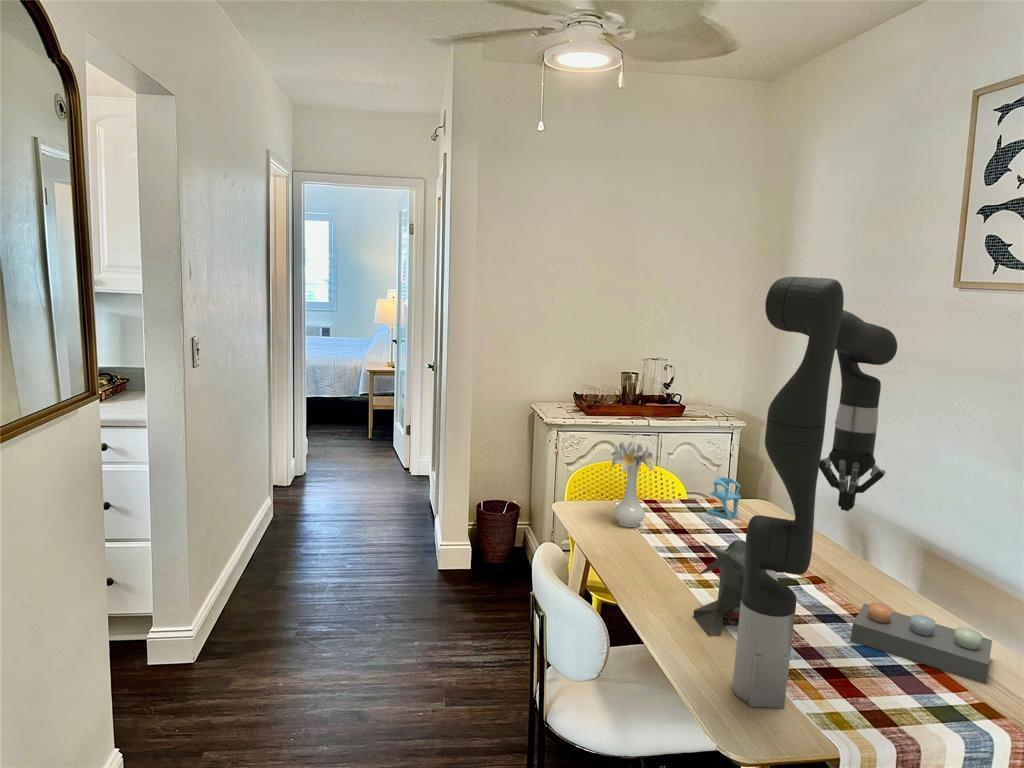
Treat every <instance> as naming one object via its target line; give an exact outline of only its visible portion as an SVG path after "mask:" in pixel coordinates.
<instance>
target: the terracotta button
mask: <svg viewBox="0 0 1024 768" xmlns="http://www.w3.org/2000/svg"><path fill="white" fill-rule="evenodd" d="M892 611H893V609H892V608H891V607H890V606H889V605H886V604H884V603H880V602H871V603H869V609H868V617H869V618H870V619H872V620H874V621H876V622H880V623H889V622H890V621H891V615H892Z"/></svg>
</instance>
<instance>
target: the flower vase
mask: <svg viewBox="0 0 1024 768" xmlns="http://www.w3.org/2000/svg"><path fill="white" fill-rule="evenodd" d="M610 455H611V456H612V461H611V466H610V468H609V470H611V469H612V468H613V467H614V466H615V465H621V472H626V484H625V491H624V492H625V493H624V495H623V498H622V500H621V501H620V502H619V503H618V504H617V505H616V506H615V507H614V509H613V516H614V517H615V519H616V520H617V523H618V524H619V526H622V527H624V526H625V527H624V528H629V527H633V528H636V527H639V525H640V523H641V522H643V521H644V519H645V517H646V512H645V509H644V508H643V507H642V505H641V504H640V503H639V500H638V496H637V484H638V483H637V482H638V481H637V480H638V473H639V469H640V467H642V463H643V464H644V465H645V466H646V467H647V468H648V469H650V470H652V472H655V468H654V465H653V464H652V462H654V460H655V457H654V456H653V453H652V452H650V450H649V446H648V445H646V448H645V450H644V449H643V445H642V444H639V443H638V442H634V443H633V441H630V442H628V444H627V445H625V443H624V442H623V441H621V442H620V443H619V446H616V448H615V451H613V452H612V453H611V454H610Z"/></svg>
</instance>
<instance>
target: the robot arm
mask: <svg viewBox="0 0 1024 768" xmlns="http://www.w3.org/2000/svg"><path fill="white" fill-rule="evenodd" d="M842 286H843V285H842V284H841V282H840V281H839V280H837V279H835V278H834V279H833V278H829V277H828V278H825V277H808V276H785V277H782V278H779V279H777V280H775V281H774V282H773V283H772V284H771V286H770V287H769V289H768V291H767V294H766V298H765V305H764V307H765V309H764V310H765V315H766V318H767V321H768V322H769V323H770V325H772V327H774V328H775V329H777V330H780V331H784V332H788V333H797V334H802V335H804V336H808V342H807V346H806V348H805V349H806V350H805V353H804V356H803V358H802V361H801V363H800V365H799V366H798V368H797V369H796V371H794V373H793V375H792V376H791V377H790V378H789V379H788V381H787V382H786V383H785V384H784V385H783V387H782V388H781V389H780V390H779V391H778V393H776V395H775V397H774V398H773V399H772V400H771V402H770V404H769V407H768V410H767V415H766V424H765V425H766V426H765V433H764V434H765V435H764V448H765V450H766V452H767V453H766V454H767V455H768V457H769V460H770V461H771V463H772V465H773V467H774V468H775V471H776V472H777V474H778V476H779V477H780V479H781V481H782V483H783V484H784V486H785V488H786V491H787V493H788V496H789V498H790V501H791V505H792V507H793V513H794V519H793V520H792V519H790V520H789V519H787V518H781V517H780V518H779V517H774V516H767V515H758V514H757V515H754V516H752V517H751V518H750V520H749V522H748V524H747V528H746V533H745V542H746V546H745V569H744V580H743V588H742V596H741V606H740V614H739V619H738V625H737V635H736V636H737V637H736V646H735V653H734V655H735V656H734V662H733V663H734V665H733V675H732V685H731V688H732V691H733V692H734V694H735V696H737V697H738V698H739V699H741V700H742V701H744V702H746V703H747V704H748V706H750V707H754V708H777V709H779V708H781V709H783V708H785V705H786V696H787V687H788V681H789V679H788V678H789V671H790V663H791V662H790V661H791V660H790V659H791V652H792V643H793V633H794V626H795V625H794V624H795V617H796V608H797V596H796V594H795V592H794V590H792V589H791V588H790V587H788V585H786V584H784V583H782V582H780V581H779V580H778V581H777V580H775V579H774V578H772V577H771V576H770V575H768V574H767V573H766V572H765V571H764V569H766V570H772V571H775V572H776V573H777V572H779V573H785V574H789V575H796V576H799V575H800V576H802V575H804V574H805V573H806V572H807V571H808V569H809V566H810V563H811V560H812V559H811V558H812V553H813V542H814V540H813V539H814V526H815V525H814V523H815V506H816V505H815V504H816V491H817V483H818V476H819V470H820V471H821V473H822V474H823V476H824V478H825V479H826V481H827V482H828V484H829V486H830V487H831V488H835V489H837V490H838V491H839V494H838V502H837V505H838V507H840V510H841V511H846V512H849V511H850V510H852V509H853V508H854V507H855V505H856V504H855V503H856V497H857V494H863V493H865V492H866V491H867V490H868V489H869V488H871V487H872V486H874V485H875V484H876V483H877V482H878V481H880V480H881V479H882V478H883V477H884V476H885V475H886V471H885V470H884V469H881V468H880V467H879V466H878V465H877V464H876V459H875V457H874V454H875V453H874V452H875V446H876V444H875V443H876V438H877V430H878V423H879V404H880V397H881V396H880V395H881V388H882V384H881V380H880V379H879V378H877V377H875V376H872V375H870V374H867V373H865V372H863V371H862V370H861V368H860V365H859V364H865V365H866V364H868V365H876V366H882V365H886V364H888V363H889V362H891V361H892V360H893V359H894V358H895V356H896V354H897V353H898V342H897V338H896V336H895V335H894V333H893V332H892V331H890V330H889V328H887V327H883V326H880V325H877V324H874V323H870V322H866V321H864V320H863V319H862V318H860V317H858V316H857V315H855V314H854V313H852V312H850V311H847V310H845V309H844V303H845V301H844V290H843V287H842ZM835 354H837V359H838V364H839V369H840V378H841V388H840V397H839V404H838V408H837V412H836V417H835V420H834V425H835V426H834V434H833V443H832V448H831V451H830V452H829V454H828V457H826V458H822V452H823V446H824V438H825V429H826V420H827V419H826V418H827V407H828V399H829V390H830V389H829V388H830V379H831V373H832V369H833V367H832V366H833V363H834V357H835ZM821 458H822V459H821ZM832 465H833V467H834V469H835V470H836V472H837V473H838V478H837V476H836V474H835V472H834V471H833V469H832ZM870 470H871V471H870ZM869 471H870V473H869V475H870V478H869V479H867V480H866V481H864V482H863V483H862V484H861V485H859V482H860V478H862V477H863V476H864V475H866V473H868V472H869Z"/></svg>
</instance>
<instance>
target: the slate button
mask: <svg viewBox="0 0 1024 768" xmlns="http://www.w3.org/2000/svg"><path fill="white" fill-rule="evenodd" d="M910 617H911V621H910V629H911V630H912V631H913V632H915V633H917V634H920V635H924V636H932V635H934V629H935V624H936V621H935V620H934V619H933V618H931V617H929V616H926V615H922V614H913V615H911V616H910Z"/></svg>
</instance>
